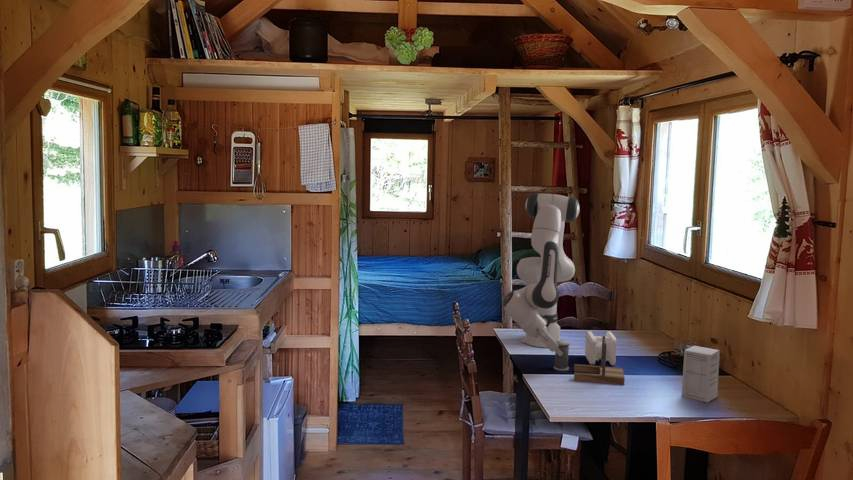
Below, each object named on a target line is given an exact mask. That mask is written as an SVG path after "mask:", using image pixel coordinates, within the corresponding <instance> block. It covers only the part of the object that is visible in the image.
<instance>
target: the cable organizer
mask: <svg viewBox="0 0 853 480" xmlns="http://www.w3.org/2000/svg"><path fill="white" fill-rule="evenodd" d="M602 338H603V336H598V335H597V336H596V335H594V333H593V332H592V330H590V331H589V330H588V331H587V330H586V332H585V345H584V354H585V355H584V356H585V358H586V360H587V362H588V363H589V365H591V366H594V365H596V361H597V362H598V363H599V362H600V361H599V360H601V356H602ZM605 341H606V344H607V346H606V362H607V361H608V362H609V364H610V366H614V365H616V361H617V360H616V358H617V337H616V336H615V335H614V334H613V333H612V331H606V333H605Z"/></svg>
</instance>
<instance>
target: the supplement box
mask: <svg viewBox="0 0 853 480" xmlns="http://www.w3.org/2000/svg"><path fill="white" fill-rule="evenodd" d="M720 353H721V350H720V349H714V348H710V347H703V346H698V345H693V346H692V345H691V347H688V348H686V349H684V352H683V367H682V385H681V398H682V397H683V398H686V399H692V400H695V401H700V402H704V403H710V402H711V401H712V400H714V399H716V398H718V389H719V388H718V387H719V371H720V370H719V369H720V368H719V367H720Z"/></svg>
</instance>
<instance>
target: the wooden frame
mask: <svg viewBox="0 0 853 480" xmlns="http://www.w3.org/2000/svg"><path fill="white" fill-rule="evenodd" d="M602 337H603V338H602V356H601V359H600V360H601V362H600V365H591V364H578V363H574V364H573V365H574V366H573V367H574V368H573V372H574V374H573V381H577V382H586V383H587V382H590V383H599V384H601V383H602V384H610V385H611V384H613V385H620V386H621V385H622V386H623V385H625V374H624V368H622V367H616V366H615V367H613V366H606V365H607V364H606V362H607V361H606V346H607V344H606V341H605V337H606V335H604V336H603V335H602Z"/></svg>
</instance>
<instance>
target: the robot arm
mask: <svg viewBox="0 0 853 480" xmlns="http://www.w3.org/2000/svg"><path fill="white" fill-rule="evenodd" d="M524 206H525V207H524V208H525V213H526V214H527V216H529V217H530V218H532V219H534V222H533V226H532V229H531V230H532V231H531V236H530V237H531V238H530V241H531V247H532V248H533V250H534V251H535V252H536V253H538V254H539V255H540V256H530V257H524V258H521V259H519V262H518V263H517V265H516V273H517V276H518V278H519V279H520V280H521V281H523V283H524V284H525V285H526V286H524V287H522V288H519V289H516V290H511V291H509V293H507V295H505V297H504V299H503V302H502V307H503V309H504V311H505V313H506V314H507V315H508V316H509V317H510V318H511V319H512V320H513V321H514V322H515V323H516V324H518V325H519V327H520V329H521V330H522V331H523V332H524V333H525V336H524V337H523V338H521V341H520V342H521V343H523V344H526V345H528V346H531V347H532V346H533V347H538V348H547V349H548V350H549V351H550V352H552V353H555V352H556V353H557V354H558V355H559V356H561V355H562V354H563V352H562V351H561V350H560V349H559V348H558V347H559V345H558V344H557V343H556V341H558V340H562V337H561V326H560V325H559V324H558V323H557V322H558V312H557V310H558V309H557V308H558V301H559V297H560V296H559V295H560V293H559V287H558V283H562V282H568V281H571V280H572V278H574V276H575V273H576V267H575V264H574V262H573V261H572V259H571V258H569V257H568V256H567V255H566V253H565V251H564V245H563V243H564V234H565V233H564V232H565V226H566V225H565V223H571V222H572V223H573V222H574V221H575V220H576V219H577V218H578V216H579V214H580V203H579V200H578V199H577V198H576V197H573V196H565V195H562V194H555V193H554V194H552V193H539V192H533V193H530V194H528V197H527V198H526V201H525V205H524Z"/></svg>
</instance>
